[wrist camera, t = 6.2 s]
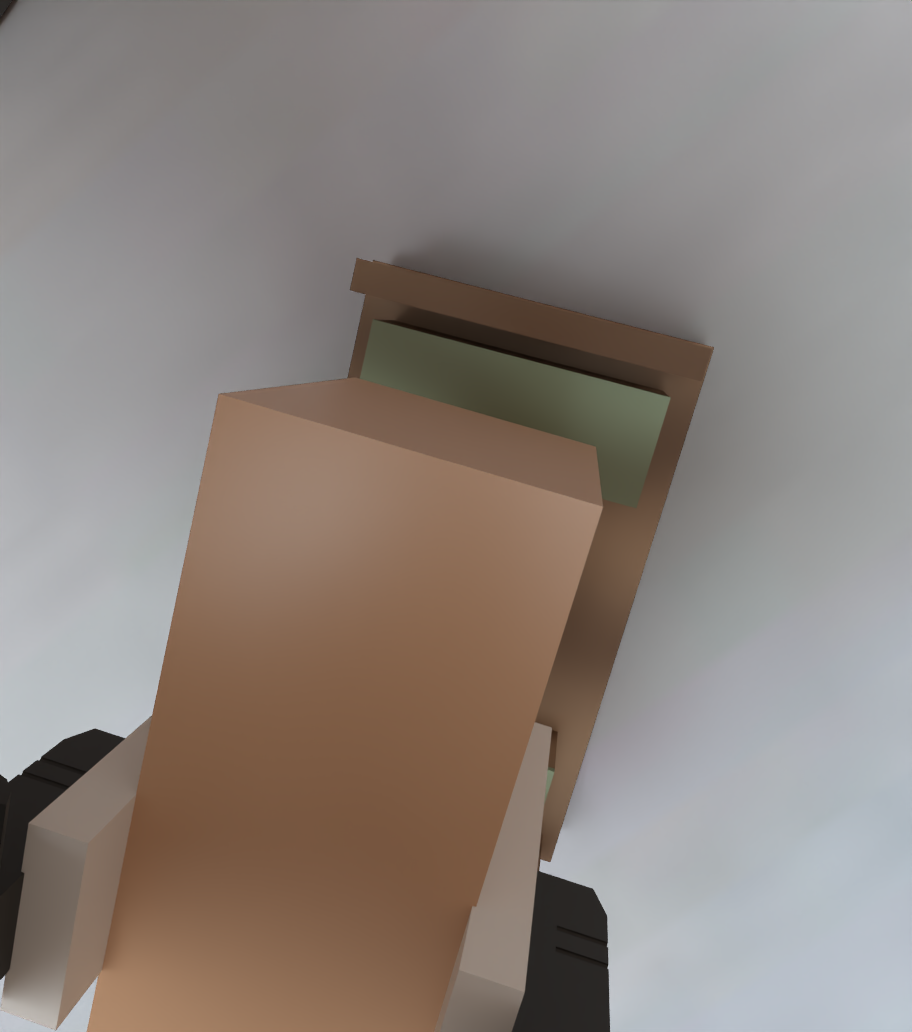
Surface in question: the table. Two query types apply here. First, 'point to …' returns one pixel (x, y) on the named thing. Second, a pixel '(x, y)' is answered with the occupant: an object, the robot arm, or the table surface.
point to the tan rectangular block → (341, 709)
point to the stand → (559, 411)
